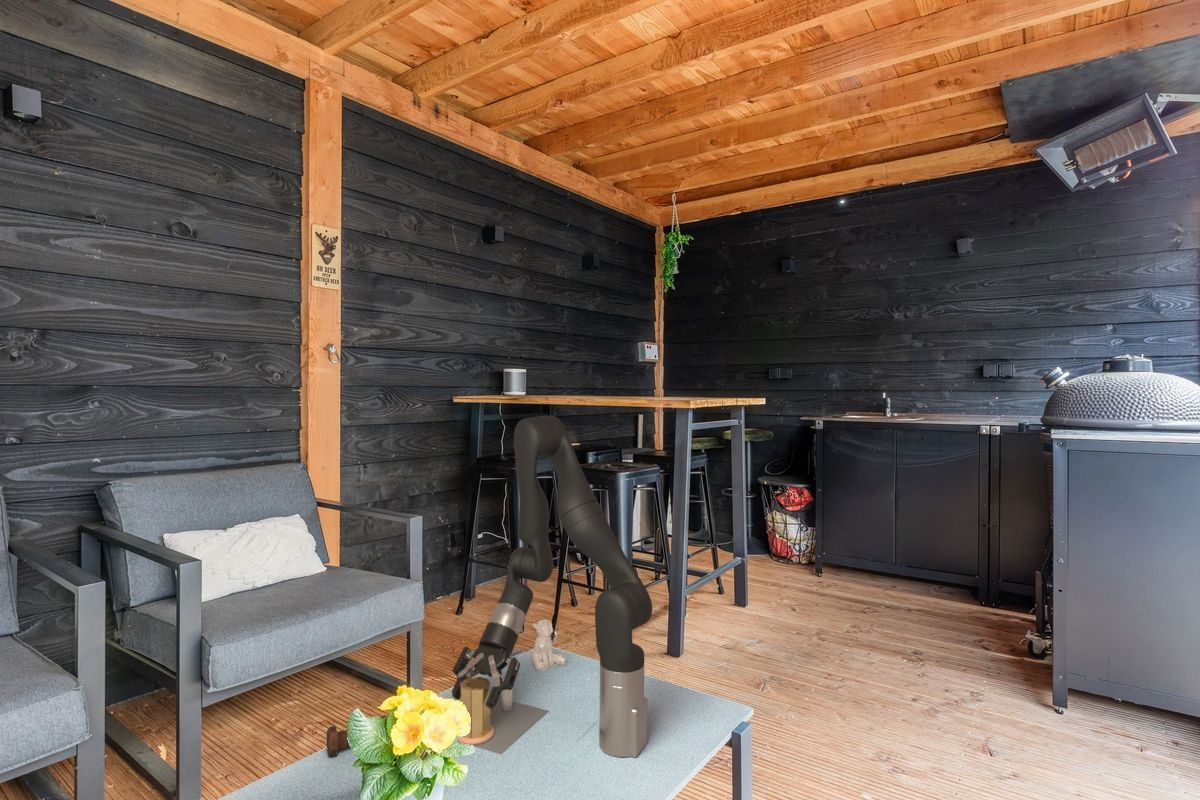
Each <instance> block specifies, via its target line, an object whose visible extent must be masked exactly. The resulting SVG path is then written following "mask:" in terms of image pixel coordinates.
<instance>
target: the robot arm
mask: <svg viewBox="0 0 1200 800" xmlns="http://www.w3.org/2000/svg"><path fill="white" fill-rule="evenodd" d="M573 446H574V445H573V443H572V441H571V438H570V436H569V434H568V432H567V429H566V427H565V425H564V423H563V422H562V421H561V420H560V419H559V418H558V417H557V416H555V415H541V416H533V417H527V418H522V419H520V420H519V421H518V422H517V424H516V426H515V428H514V433H513V447H514V458H515V469H516V478H517V485H518V496H519V505H518V506H519V508H518V509H519V511H518V512H519V513H518V531H517V534H518V538H519V540H520V541H521V542H523V543H524V544H526V545H528V546H529V547H531V548H529V547H525V546H524V547H523V546H519V547H518V548H515V549H514V550H513V552H512V553H511V554H510V556H509V559H508V566H507V567H508V568H507V573H506V579H505V583H504V588H503V591H502V593H501V595H500V597H499V599H498V602H497V604H496V606H495V608H494V609H493V611H492V613H491V615H490V617H489V619H488V621H487V623H486V625H485V628H484V630H483V633H482V634H481V637H480V639H479V645H478V647H477V648H476V649H475V650H473V649H470V648H469V647H468V646H465V647H463V649H462V651H461V653H460V655H459V657H458V658H457V661H455V662H456V663H455V664H454V666H453V669H452V674H454V675H455V676H456V678H457V679H456V681H455V684H454V686H453V688H452V690H451V694H452V695H451V696H452V698H454V699H455V700H458V701H460V683H461V682H462V681H464V680H465V679H468V678H472V677H477V675H478V674H479V675H482V676H488V677H491V678H492V679H493V684H494V686H492V688H490V694H489V697H488V699H487V701H486V706H487V707H488V708H490V709H493V707H494V706H496V704H497V702H498V699H499V698H500V697H501V695H502V691H503V690H507V689H508V690H511V689H512V688H513V687H514V684H515V683H516V679H517V676H518V673H519V670H520V668H521V662H520V661H519V659H517V658H516V657H514V656H513V657H511V658H510V656H511V655H512V653H513V651H514V648H515V646H516V644H517V641H518V638H519V636H520V634H521V632H522V629H523V627H524V623H525V619H526V616H527V614H528V611H529V609H530V606H531V605H532V602H533V600H534V599H533V598H534V592H533V590H532V589H531V587H528V585H526V584H524V583H521V582H520V581H521V579H525V580H529V581H533V582H537V583H544V582H547V581H548V579H550V577H552V574H553V571H554V558H553V557H554V556H553V553H552V552H553V551H552V548H551V543H550V538H549V520H550V506H549V502H548V498H547V497H546V494H545V492H544V490H543V489H542V487H541V484H540V482H539V479H538V474H537V466H538V465H537V464H538V458H542V457H547V456H548V457H549V459H550V461H551V463H552V465H553V468H554V470H555V473H556V476H557V492H556V493H557V494H556V511H557V512H556V513H557V515H558V518H559V521H560V522H561V525H562V527H563V530H564V531H565V533H566V535H567V537H568V539H569V540H570V541H571V543H572V544H573V545H574V546H575V547H576V548H577V549H578V550H579V551H580V552H581V553H582V554H584V555H585V557H587V558H588V559H589V560H591V562H593V563H594V564H595V566H597V567H598V568H599V570H600V571H601V572H602V574H603V575H604V578H605V580H606V581H607V583H608V585H609V587H610V588H608V589H606V590H604V591H602V592H601V593H600V594H599V595H598V597H597V599H596V602H595V607H594V624H595V625H594V626H595V645H596V649H597V653H598V656H599V715H598V716H599V718H598V719H599V725H598V727H599V732H598V740H599V741H598V743H599V745H598V746H599V748H600V750H601V751H602V752H604V753H605V754H607V755H609V756H612V757H616V758H627V757H628V758H630V757H632V758H637V757H638V756H639V754H640V753H641V752H642V750H643V749H644V748H645V746H646V745H647V744H648V698H647V697H645V651H644V649H643V648H642V647H641V646H640V645H638V644H636V643H633V630H634V629H637V628H639V627H641V626H643V625H644V624H646V623H648V622H649V620H650V619H651V617H652V614H653V604H652V599H651V596H650V593H649V592H648V590H647V588H646V586H645V585H644V583H643V581H642V580H641V578H640V577H639V575H638V573H637V572H636V570H635V569H634V567H633V566H632V564H631V563H630V562H631V561H629V560H628V557H627V556H626V554H625V552H624V551H623V549H622V547H621V545H620V543H619V541H618V539H617V537H616V535H615V533H614V531H613V530H612V528H611V526H610V524H609V522H608V520H607V518H606V515H605V512H604V511H603V509H602V508H601V505H600V503H599V501H598V499H597V497H596V495H595V494H594V492H593V490H592V488H591V486H590V484H589V482H588V480H587V478H586V475H585V473H584V471H583V469H582V466H581V464H580V462H579V460H578V457H577V454H576V452H575V449H574V447H573ZM506 667H507V669H506V674H505V676H504V675H503V671H502V670H504V669H505V668H506Z"/></svg>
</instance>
